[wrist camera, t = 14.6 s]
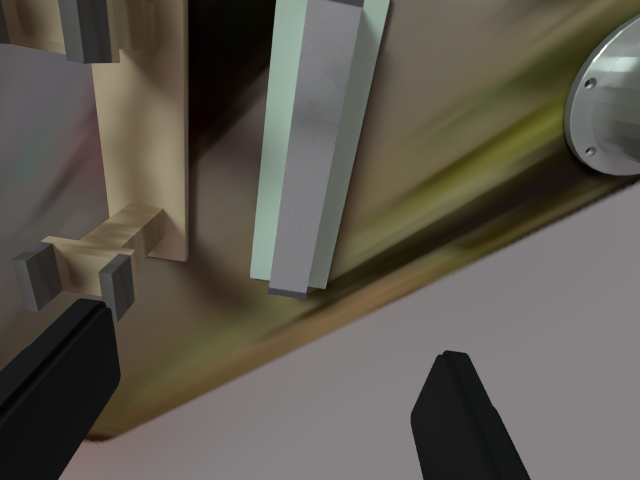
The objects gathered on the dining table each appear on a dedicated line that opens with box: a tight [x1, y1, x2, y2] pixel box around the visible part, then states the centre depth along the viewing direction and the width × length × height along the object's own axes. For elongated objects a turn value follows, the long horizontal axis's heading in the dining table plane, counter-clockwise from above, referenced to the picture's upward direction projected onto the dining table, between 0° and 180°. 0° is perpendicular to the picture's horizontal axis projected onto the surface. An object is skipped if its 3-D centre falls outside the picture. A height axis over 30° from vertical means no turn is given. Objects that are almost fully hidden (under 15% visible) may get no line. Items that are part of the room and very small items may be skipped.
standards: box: [0, 0, 189, 323], centre depth 24 cm, size 7×24×12 cm, turn 170°
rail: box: [268, 0, 365, 299], centre depth 29 cm, size 24×4×4 cm, turn 170°
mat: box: [250, 0, 390, 289], centre depth 30 cm, size 8×26×1 cm, turn 170°
